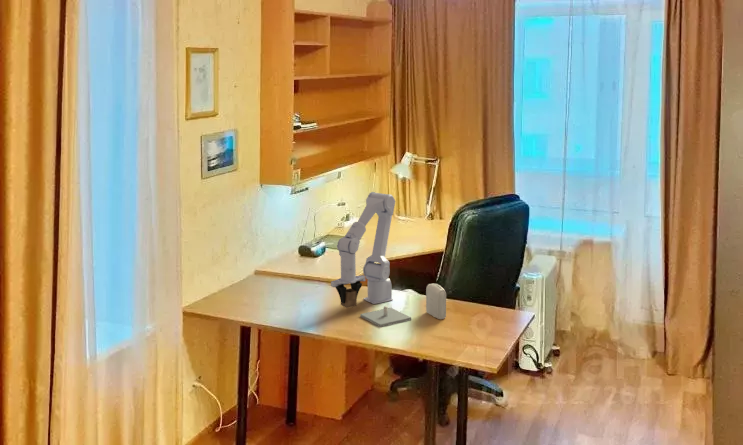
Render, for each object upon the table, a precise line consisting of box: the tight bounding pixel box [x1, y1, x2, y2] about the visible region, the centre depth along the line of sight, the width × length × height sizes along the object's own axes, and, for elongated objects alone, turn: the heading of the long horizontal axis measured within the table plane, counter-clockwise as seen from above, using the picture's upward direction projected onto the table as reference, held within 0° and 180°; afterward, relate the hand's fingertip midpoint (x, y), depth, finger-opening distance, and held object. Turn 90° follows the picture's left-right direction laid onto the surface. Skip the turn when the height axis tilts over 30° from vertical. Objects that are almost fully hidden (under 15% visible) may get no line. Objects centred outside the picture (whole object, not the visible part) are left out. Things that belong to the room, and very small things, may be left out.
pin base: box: [359, 305, 412, 328], centre depth 321 cm, size 14×14×5 cm
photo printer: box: [425, 283, 447, 320], centre depth 324 cm, size 10×4×12 cm, turn 26°
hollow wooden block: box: [340, 287, 358, 309], centre depth 328 cm, size 4×4×6 cm
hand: (348, 301), depth 328 cm, fingers closed on hollow wooden block, 4 cm apart
